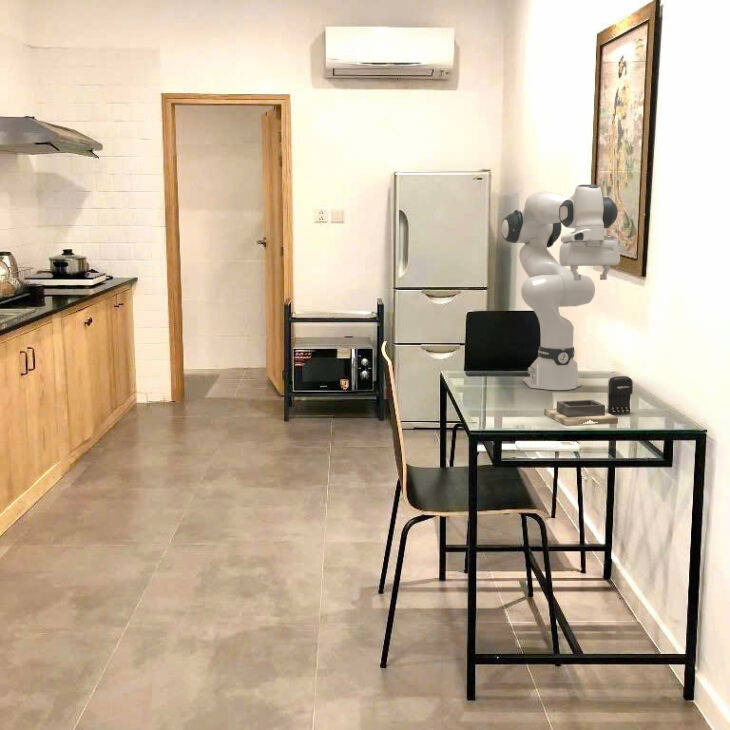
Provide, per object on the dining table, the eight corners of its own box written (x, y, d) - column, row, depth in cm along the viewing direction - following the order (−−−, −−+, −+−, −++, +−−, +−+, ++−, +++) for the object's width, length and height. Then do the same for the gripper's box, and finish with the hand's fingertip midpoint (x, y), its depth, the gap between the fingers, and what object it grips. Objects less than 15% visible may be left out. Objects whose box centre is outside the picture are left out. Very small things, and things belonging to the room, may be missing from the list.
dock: (544, 413, 273) (544, 399, 272) (593, 411, 276) (594, 396, 275) (565, 425, 258) (566, 410, 257) (617, 423, 261) (618, 407, 260)
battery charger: (610, 415, 270) (612, 378, 268) (605, 412, 274) (607, 375, 272) (633, 414, 271) (634, 377, 269) (628, 412, 275) (629, 375, 273)
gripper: (612, 236, 289) (613, 279, 290) (556, 237, 283) (557, 281, 284) (623, 234, 283) (624, 279, 284) (566, 235, 277) (567, 280, 278)
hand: (590, 280), depth 284 cm, fingers open, 8 cm apart
